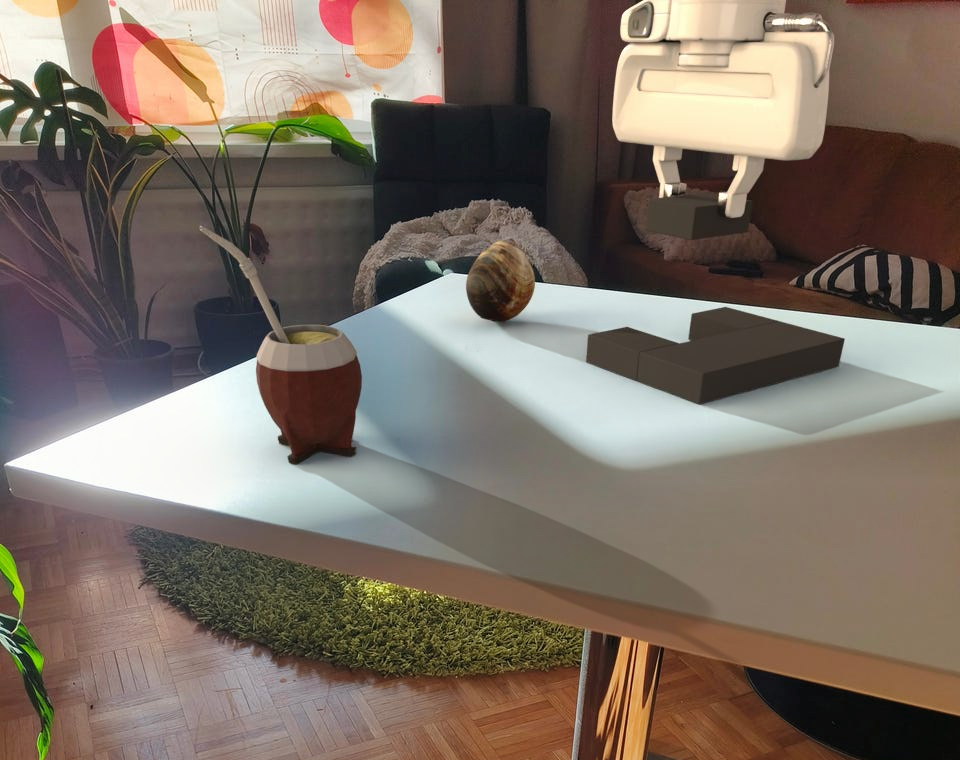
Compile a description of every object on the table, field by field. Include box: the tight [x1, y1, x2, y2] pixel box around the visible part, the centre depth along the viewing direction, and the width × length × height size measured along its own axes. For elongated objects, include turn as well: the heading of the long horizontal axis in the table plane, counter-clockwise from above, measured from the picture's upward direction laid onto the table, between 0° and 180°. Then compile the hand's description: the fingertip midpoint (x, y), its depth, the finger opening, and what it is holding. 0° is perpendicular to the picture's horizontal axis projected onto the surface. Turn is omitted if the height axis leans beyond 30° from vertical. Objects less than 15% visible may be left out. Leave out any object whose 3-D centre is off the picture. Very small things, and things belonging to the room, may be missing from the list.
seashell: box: [465, 236, 536, 323], centre depth 91 cm, size 10×6×8 cm, turn 143°
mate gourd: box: [199, 225, 363, 465], centre depth 59 cm, size 8×8×15 cm
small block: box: [645, 192, 754, 241], centre depth 77 cm, size 7×6×2 cm
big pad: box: [585, 306, 846, 405], centre depth 80 cm, size 18×14×2 cm
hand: (699, 211), depth 77 cm, fingers closed on small block, 5 cm apart
